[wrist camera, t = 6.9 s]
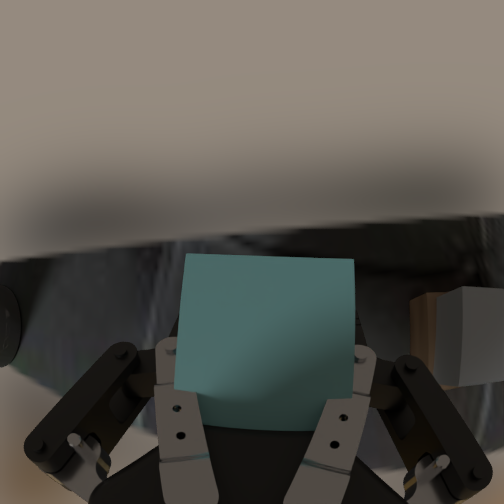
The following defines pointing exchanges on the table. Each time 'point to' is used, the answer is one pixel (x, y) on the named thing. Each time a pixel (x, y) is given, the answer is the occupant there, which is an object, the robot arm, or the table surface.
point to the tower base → (424, 329)
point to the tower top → (469, 337)
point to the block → (266, 338)
